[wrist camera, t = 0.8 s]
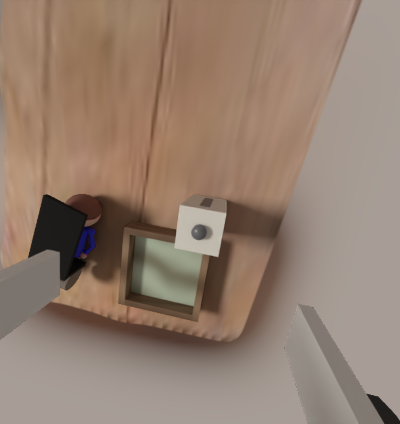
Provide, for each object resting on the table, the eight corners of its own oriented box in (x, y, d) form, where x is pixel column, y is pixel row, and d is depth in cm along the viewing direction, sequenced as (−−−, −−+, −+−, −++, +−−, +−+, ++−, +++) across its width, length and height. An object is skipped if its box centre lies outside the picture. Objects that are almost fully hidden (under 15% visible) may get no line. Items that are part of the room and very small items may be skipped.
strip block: (193, 193, 31) (178, 205, 21) (226, 199, 30) (226, 214, 21) (188, 226, 32) (172, 250, 22) (220, 232, 31) (217, 259, 22)
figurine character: (94, 272, 38) (116, 202, 32) (60, 302, 30) (81, 218, 25) (62, 255, 38) (79, 183, 32) (21, 281, 31) (34, 194, 25)
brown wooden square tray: (133, 221, 33) (123, 226, 30) (213, 237, 32) (211, 244, 29) (127, 292, 36) (118, 303, 33) (200, 309, 35) (197, 322, 32)
